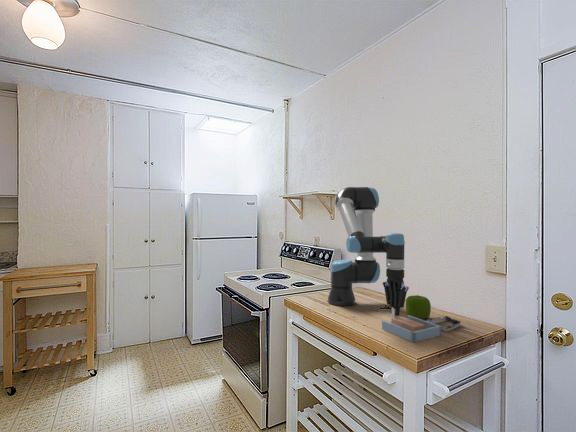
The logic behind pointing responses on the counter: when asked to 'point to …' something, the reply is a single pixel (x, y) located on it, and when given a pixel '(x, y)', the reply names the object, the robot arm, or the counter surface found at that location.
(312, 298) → the counter surface
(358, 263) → the robot arm
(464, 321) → the counter surface
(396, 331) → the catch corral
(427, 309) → the apple
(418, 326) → the terracotta tile
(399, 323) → the terracotta tile
